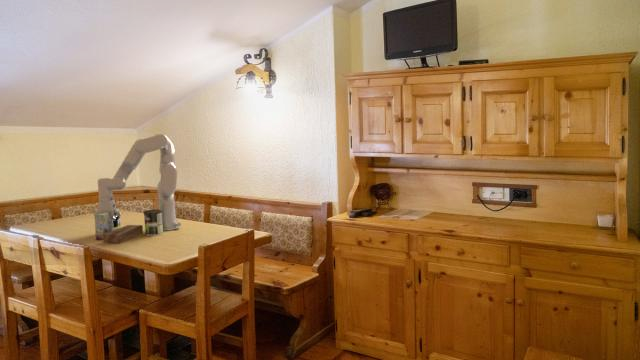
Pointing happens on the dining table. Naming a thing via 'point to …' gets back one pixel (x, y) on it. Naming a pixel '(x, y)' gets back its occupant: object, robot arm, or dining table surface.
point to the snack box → (104, 224)
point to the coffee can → (153, 222)
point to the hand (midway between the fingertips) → (108, 226)
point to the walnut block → (123, 234)
